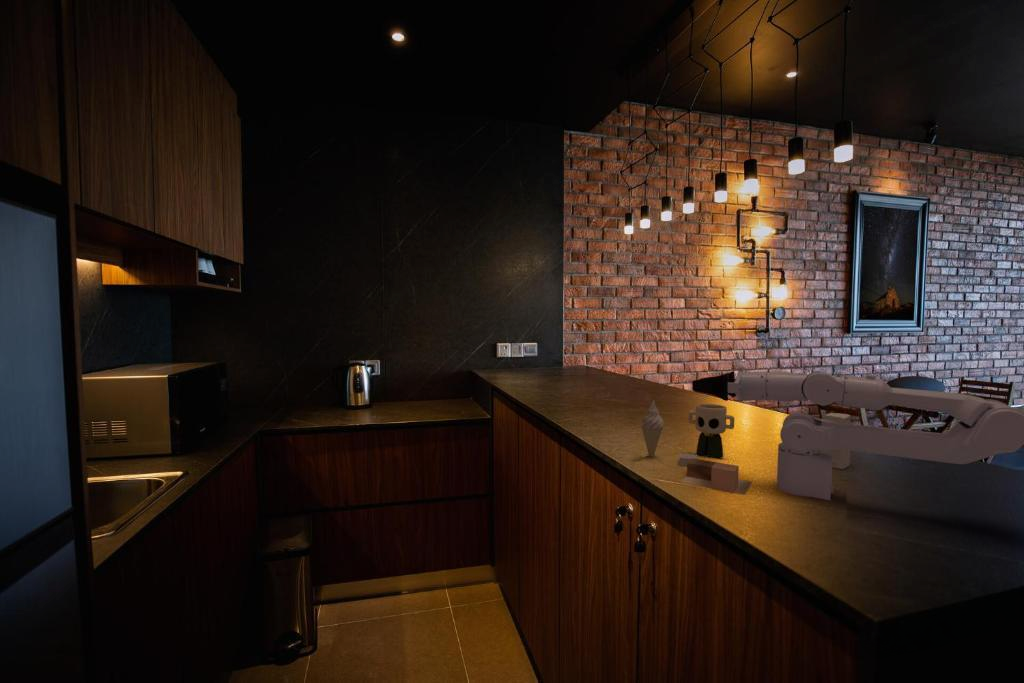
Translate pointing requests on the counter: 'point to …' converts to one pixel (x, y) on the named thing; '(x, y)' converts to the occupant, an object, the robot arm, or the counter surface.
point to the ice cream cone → (652, 428)
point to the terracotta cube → (724, 477)
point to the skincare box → (839, 456)
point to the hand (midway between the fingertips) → (696, 384)
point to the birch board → (741, 489)
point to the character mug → (710, 428)
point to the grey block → (686, 459)
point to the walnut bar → (700, 469)
